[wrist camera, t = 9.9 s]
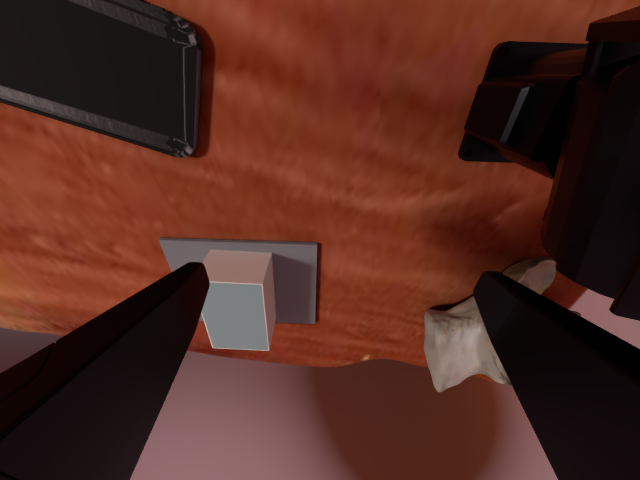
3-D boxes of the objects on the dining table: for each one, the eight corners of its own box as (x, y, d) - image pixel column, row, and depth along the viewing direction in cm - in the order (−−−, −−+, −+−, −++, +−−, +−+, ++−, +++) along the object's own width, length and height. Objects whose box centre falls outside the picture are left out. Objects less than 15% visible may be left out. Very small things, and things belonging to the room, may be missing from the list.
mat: (317, 242, 22) (317, 244, 21) (315, 320, 28) (314, 323, 28) (161, 237, 22) (158, 239, 21) (193, 317, 28) (191, 320, 28)
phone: (193, 162, 17) (-64, 82, 15) (199, 157, 18) (-41, 81, 16) (198, 21, 13) (-161, -124, 10) (206, 25, 14) (-121, -108, 11)
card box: (276, 317, 27) (269, 350, 24) (226, 314, 27) (212, 348, 24) (271, 252, 22) (262, 284, 19) (210, 249, 22) (190, 280, 19)
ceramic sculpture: (421, 387, 19) (659, 302, 14) (389, 301, 26) (540, 229, 22) (463, 431, 23) (649, 377, 19) (426, 348, 31) (555, 296, 26)
